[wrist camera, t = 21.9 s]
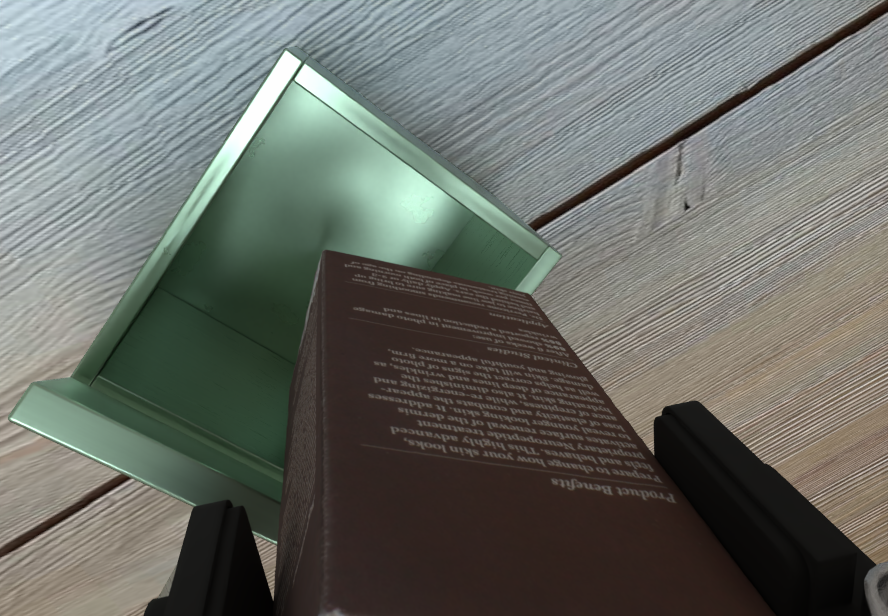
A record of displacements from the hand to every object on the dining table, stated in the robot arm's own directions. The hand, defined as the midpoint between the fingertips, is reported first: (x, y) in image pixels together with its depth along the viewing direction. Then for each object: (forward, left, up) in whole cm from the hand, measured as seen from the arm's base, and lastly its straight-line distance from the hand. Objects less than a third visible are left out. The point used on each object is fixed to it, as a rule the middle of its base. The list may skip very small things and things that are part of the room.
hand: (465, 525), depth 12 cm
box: (0, 0, -8) cm, 8 cm away
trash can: (+2, -3, -29) cm, 29 cm away
